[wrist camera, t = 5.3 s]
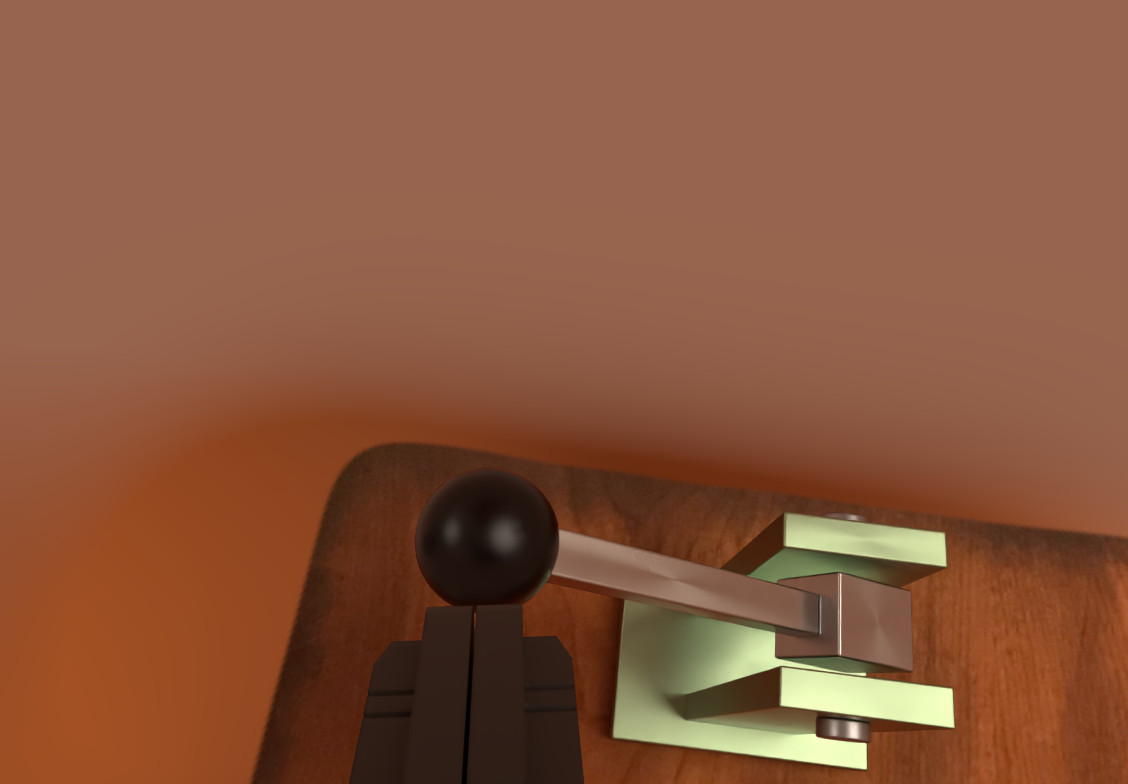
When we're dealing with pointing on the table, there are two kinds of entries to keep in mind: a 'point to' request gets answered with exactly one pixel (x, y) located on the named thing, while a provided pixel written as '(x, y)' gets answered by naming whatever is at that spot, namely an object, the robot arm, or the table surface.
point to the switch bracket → (759, 680)
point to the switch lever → (648, 577)
